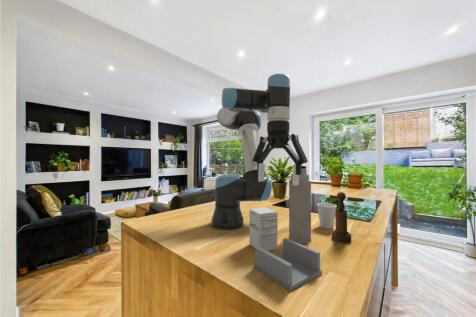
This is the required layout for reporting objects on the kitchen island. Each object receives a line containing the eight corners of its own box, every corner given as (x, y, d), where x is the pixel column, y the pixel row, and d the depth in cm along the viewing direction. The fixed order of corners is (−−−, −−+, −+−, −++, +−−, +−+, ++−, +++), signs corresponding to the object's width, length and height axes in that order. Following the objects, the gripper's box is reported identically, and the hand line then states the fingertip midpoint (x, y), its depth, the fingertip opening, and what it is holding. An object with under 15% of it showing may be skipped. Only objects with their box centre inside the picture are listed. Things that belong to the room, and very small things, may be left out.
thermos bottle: (309, 236, 79) (309, 165, 80) (312, 244, 72) (312, 166, 72) (288, 234, 81) (288, 165, 82) (289, 242, 73) (289, 165, 74)
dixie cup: (316, 222, 97) (316, 202, 97) (335, 224, 94) (335, 203, 95) (317, 228, 89) (317, 205, 90) (337, 230, 87) (337, 207, 87)
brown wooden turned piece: (329, 239, 76) (329, 192, 77) (334, 235, 81) (334, 190, 81) (348, 244, 72) (348, 194, 72) (353, 239, 77) (353, 192, 77)
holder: (253, 266, 56) (253, 246, 56) (284, 255, 63) (284, 237, 63) (290, 291, 46) (290, 266, 46) (321, 274, 53) (321, 252, 53)
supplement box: (248, 244, 72) (248, 208, 72) (266, 241, 74) (266, 207, 75) (258, 253, 65) (259, 213, 65) (278, 249, 68) (278, 211, 68)
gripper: (243, 123, 75) (243, 180, 75) (308, 114, 58) (307, 188, 58) (256, 126, 80) (255, 179, 80) (318, 118, 63) (317, 185, 63)
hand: (277, 183), depth 69 cm, fingers open, 13 cm apart
